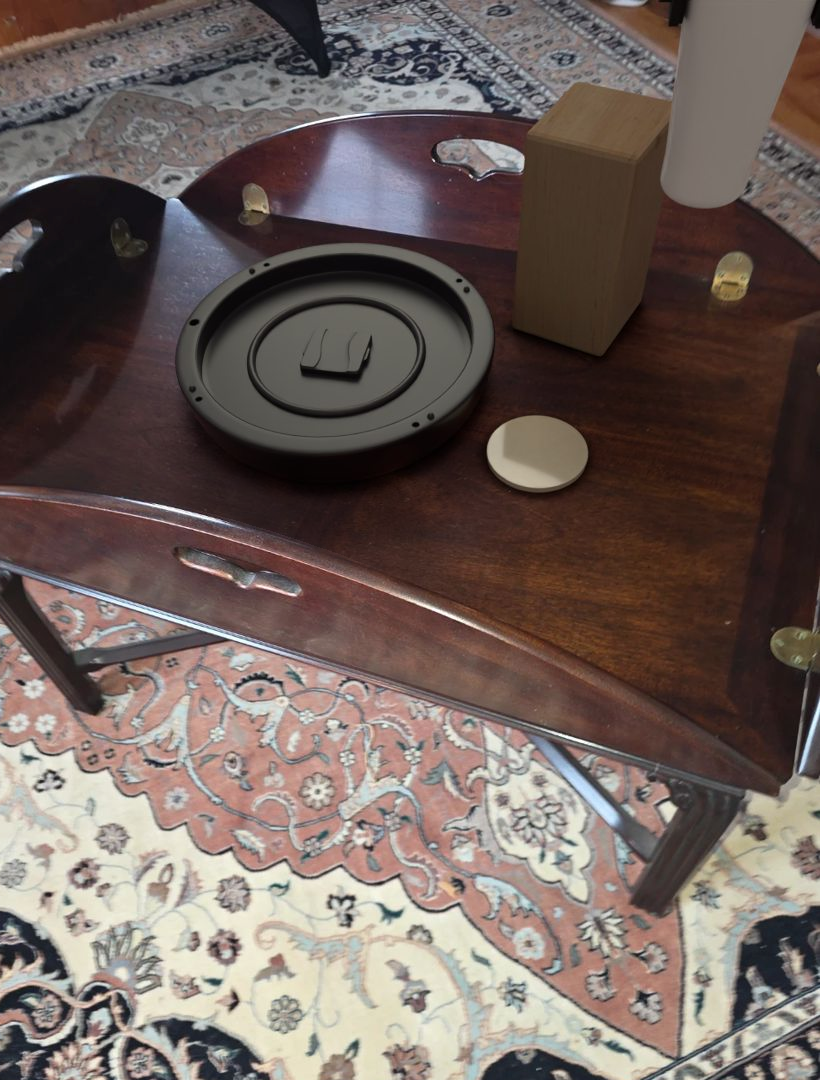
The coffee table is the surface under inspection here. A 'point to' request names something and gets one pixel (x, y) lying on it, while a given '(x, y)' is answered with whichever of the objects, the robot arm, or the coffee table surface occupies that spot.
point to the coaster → (537, 453)
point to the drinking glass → (727, 93)
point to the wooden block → (589, 214)
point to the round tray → (336, 360)
